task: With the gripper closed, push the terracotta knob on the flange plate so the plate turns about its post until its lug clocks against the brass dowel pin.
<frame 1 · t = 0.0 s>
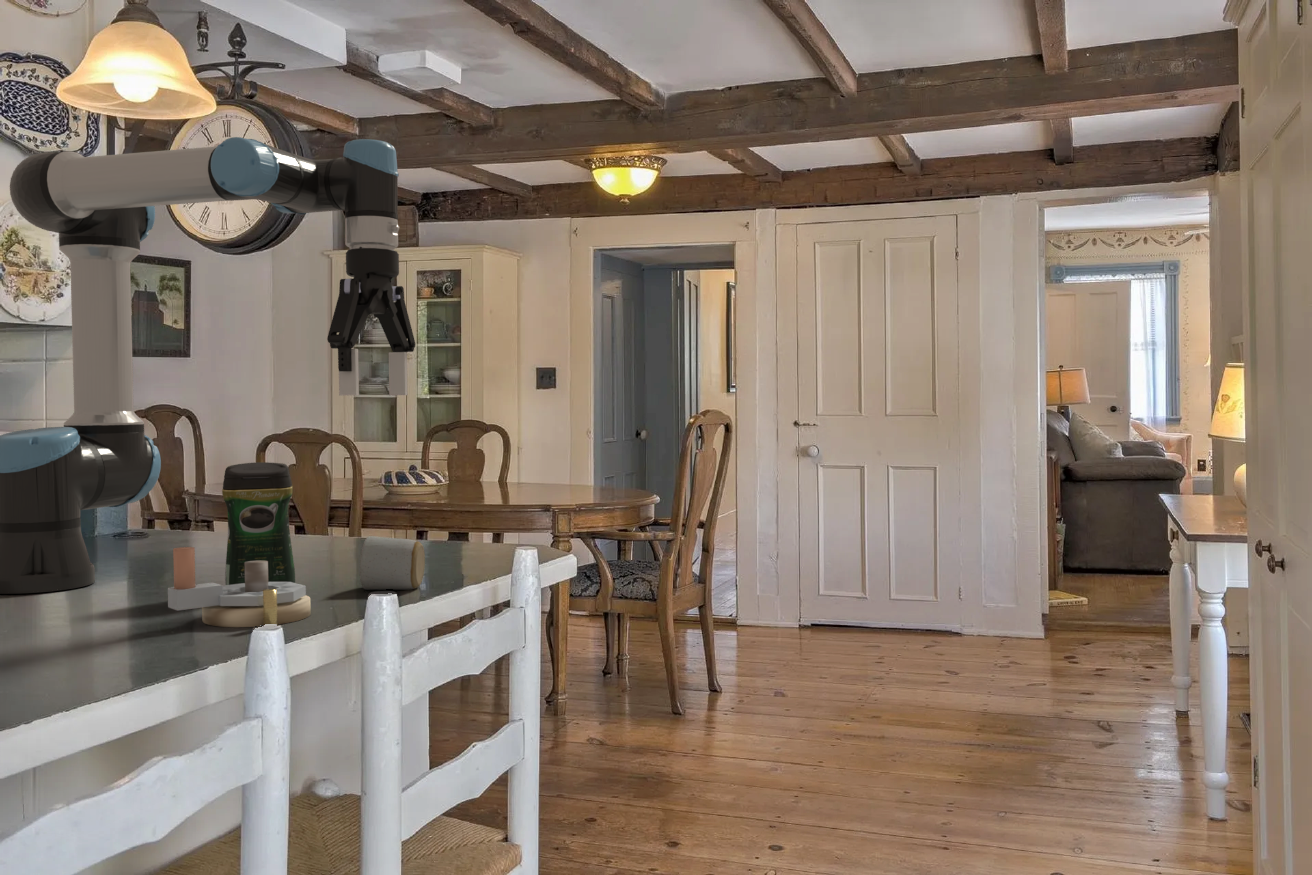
hand: (374, 395, 170), 28 cm above the counter, fingers open, 13 cm apart
pedestal: (257, 616, 147), on the counter
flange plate: (237, 571, 145), point 6 cm above the counter, hinge at 0.0°
ceramic mug: (393, 589, 170), on the counter
coffee jar: (260, 592, 167), on the counter
dowel pin: (270, 626, 141), on the counter
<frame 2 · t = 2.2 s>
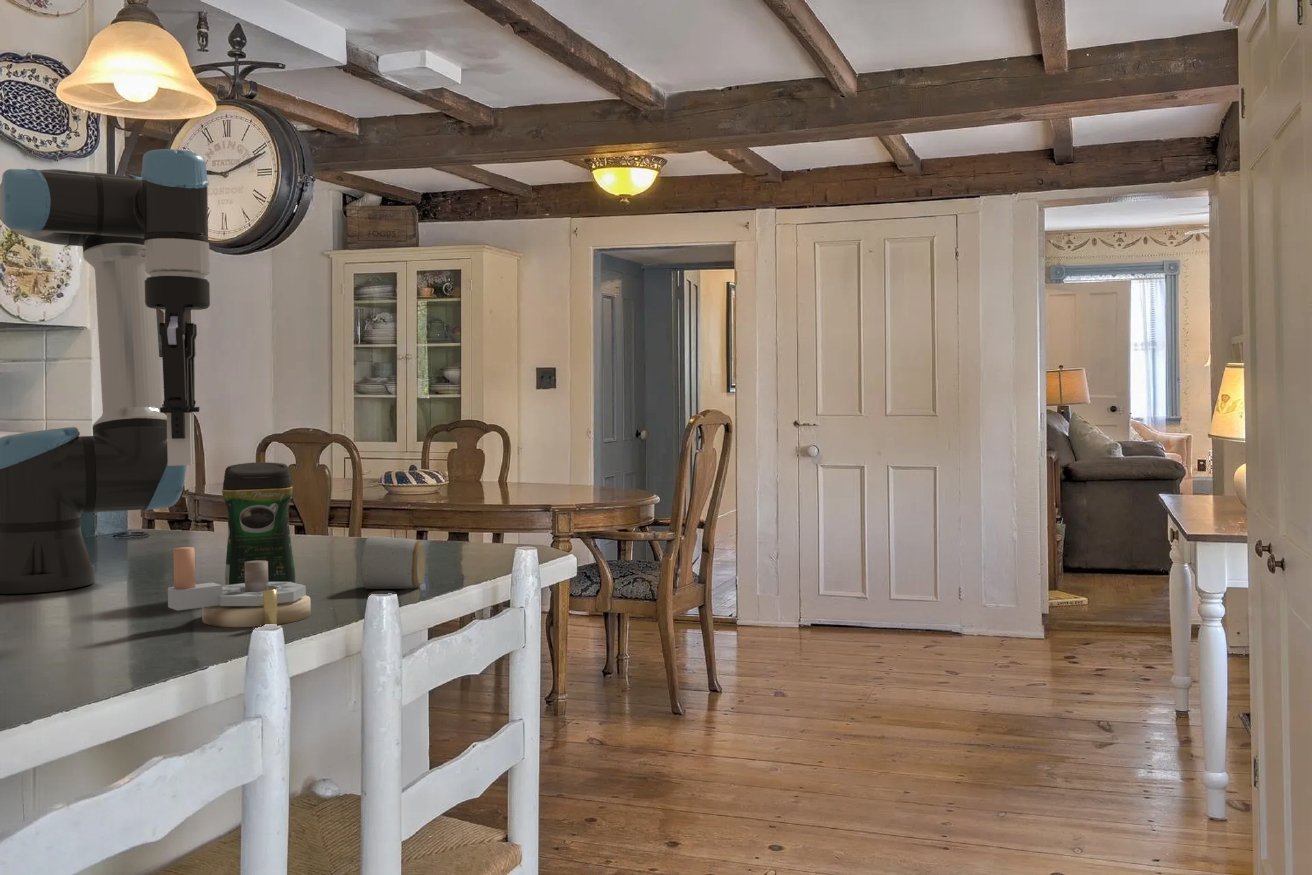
hand: (181, 464, 146), 19 cm above the counter, fingers open, 2 cm apart
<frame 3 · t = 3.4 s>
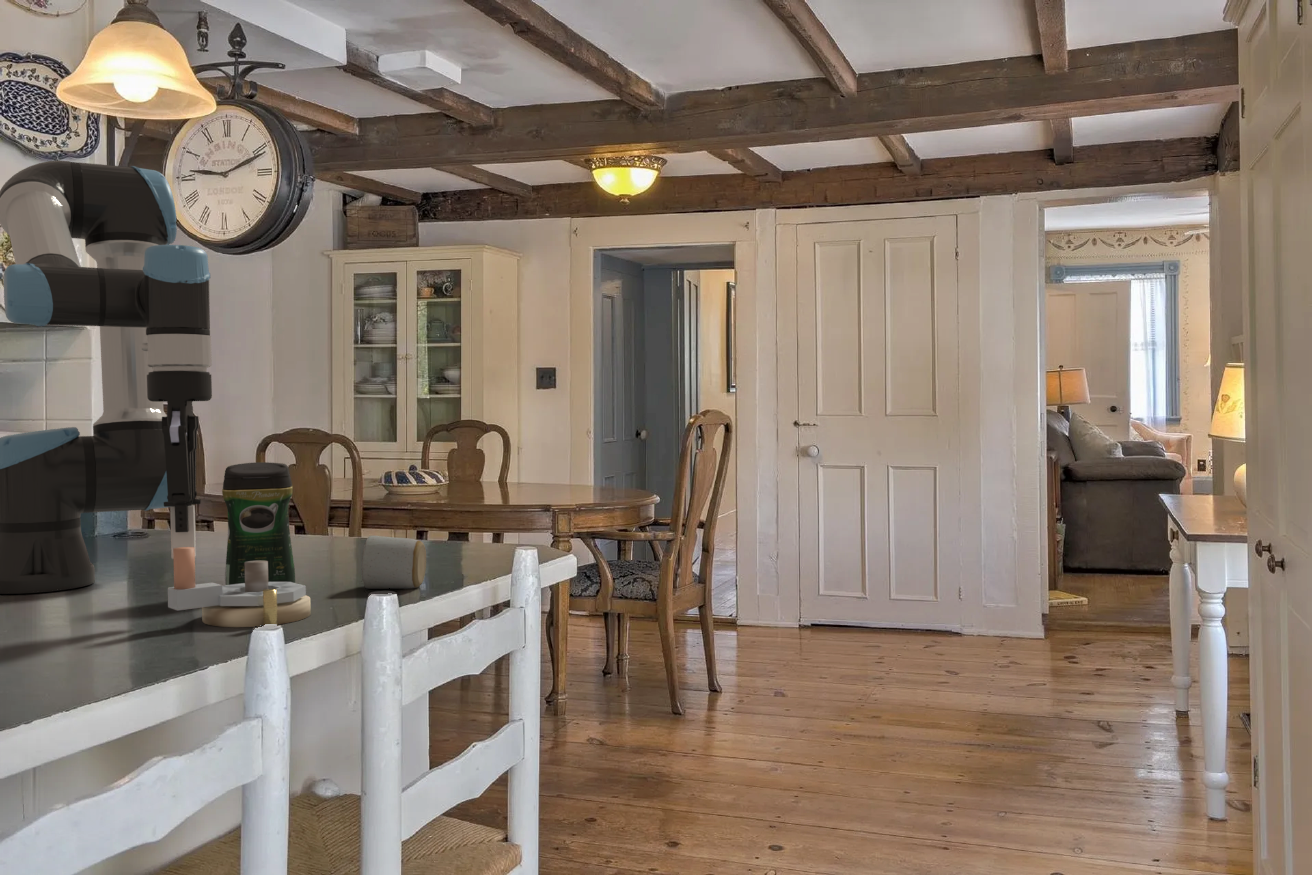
hand: (183, 557, 146), 8 cm above the counter, fingers closed
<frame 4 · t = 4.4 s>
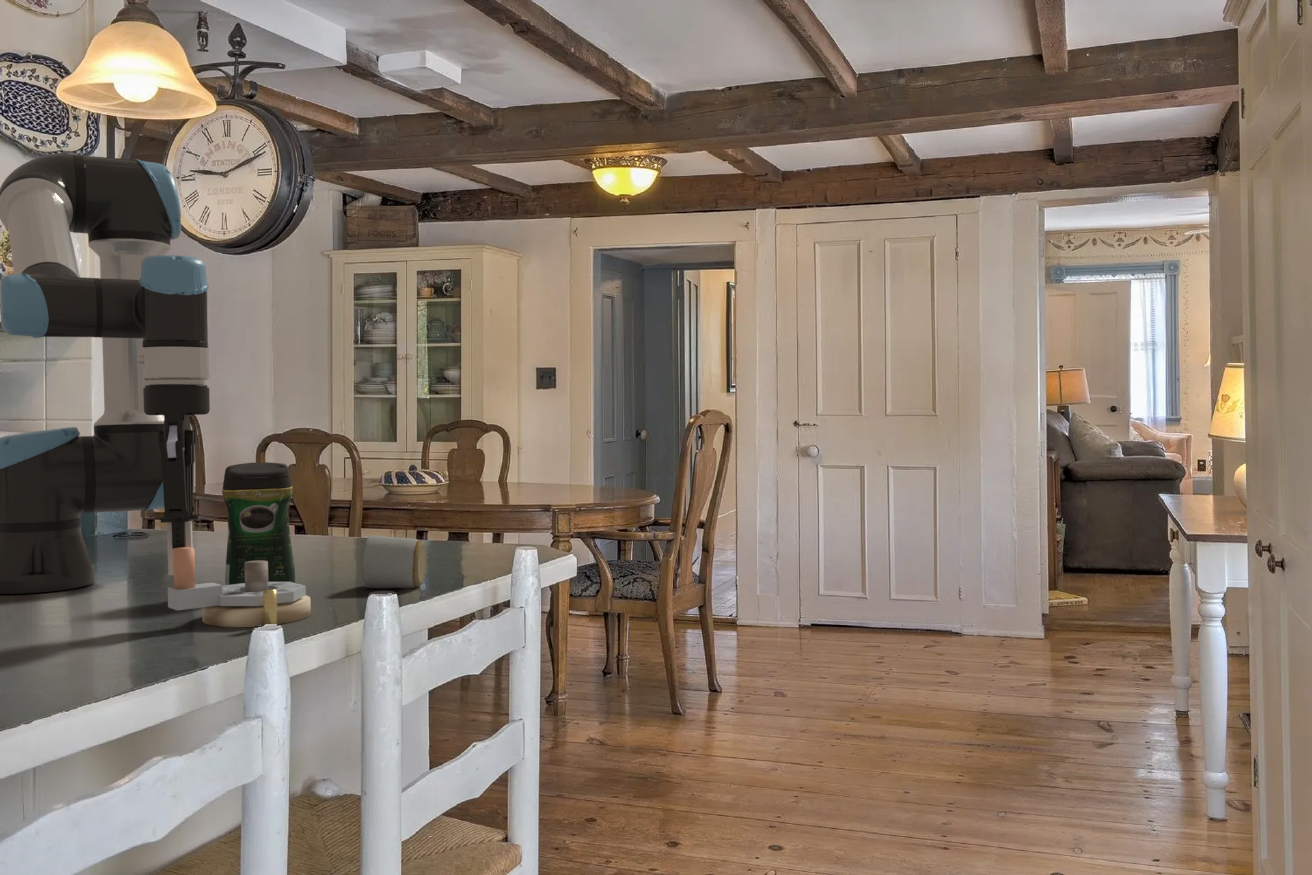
hand: (180, 573, 143), 6 cm above the counter, fingers closed
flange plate: (237, 571, 145), point 6 cm above the counter, hinge at 0.0°, touching gripper
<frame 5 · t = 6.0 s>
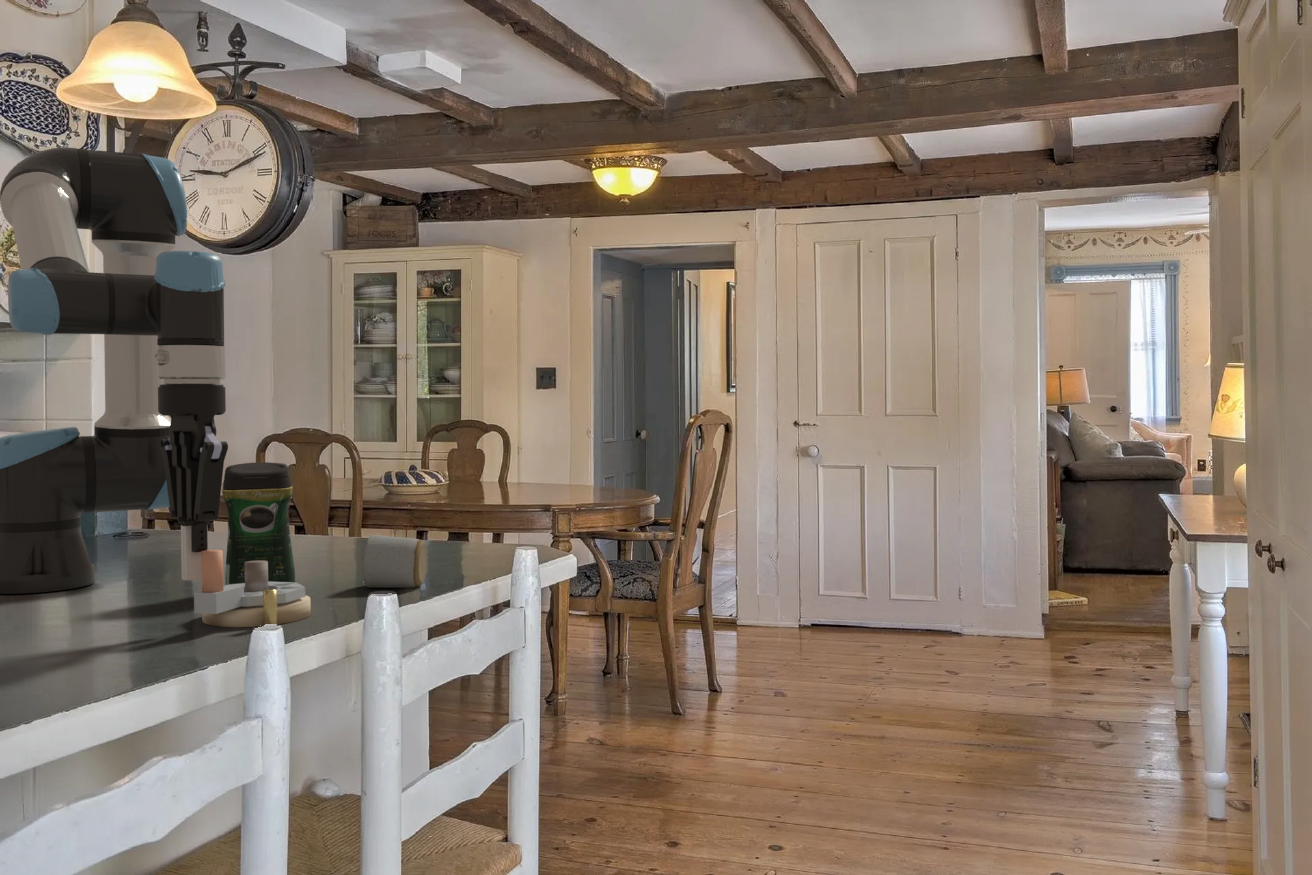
hand: (195, 578, 139), 6 cm above the counter, fingers closed
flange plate: (244, 572, 144), point 6 cm above the counter, hinge at 33.2°, touching gripper
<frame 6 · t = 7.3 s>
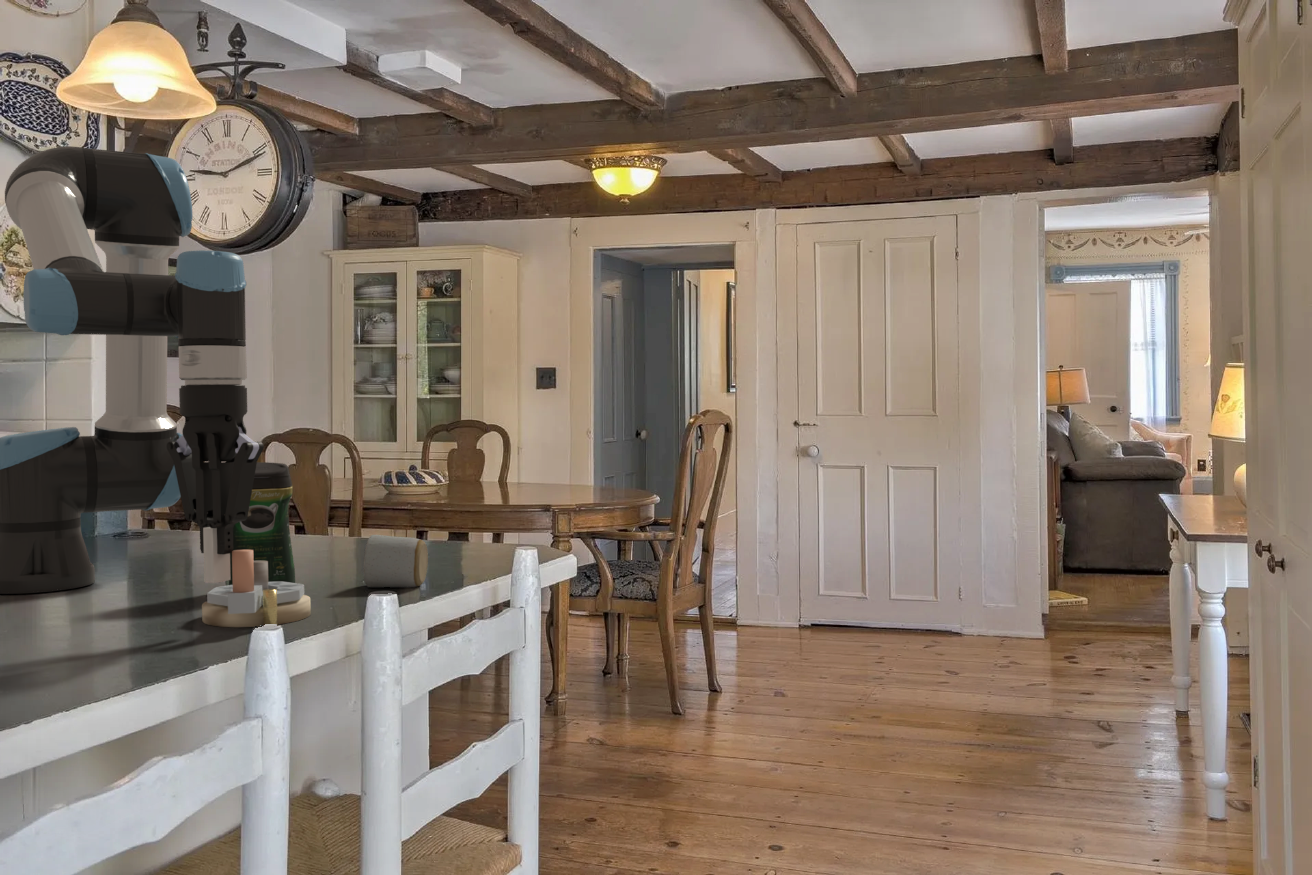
hand: (217, 580, 138), 6 cm above the counter, fingers closed
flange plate: (252, 572, 144), point 6 cm above the counter, hinge at 56.9°
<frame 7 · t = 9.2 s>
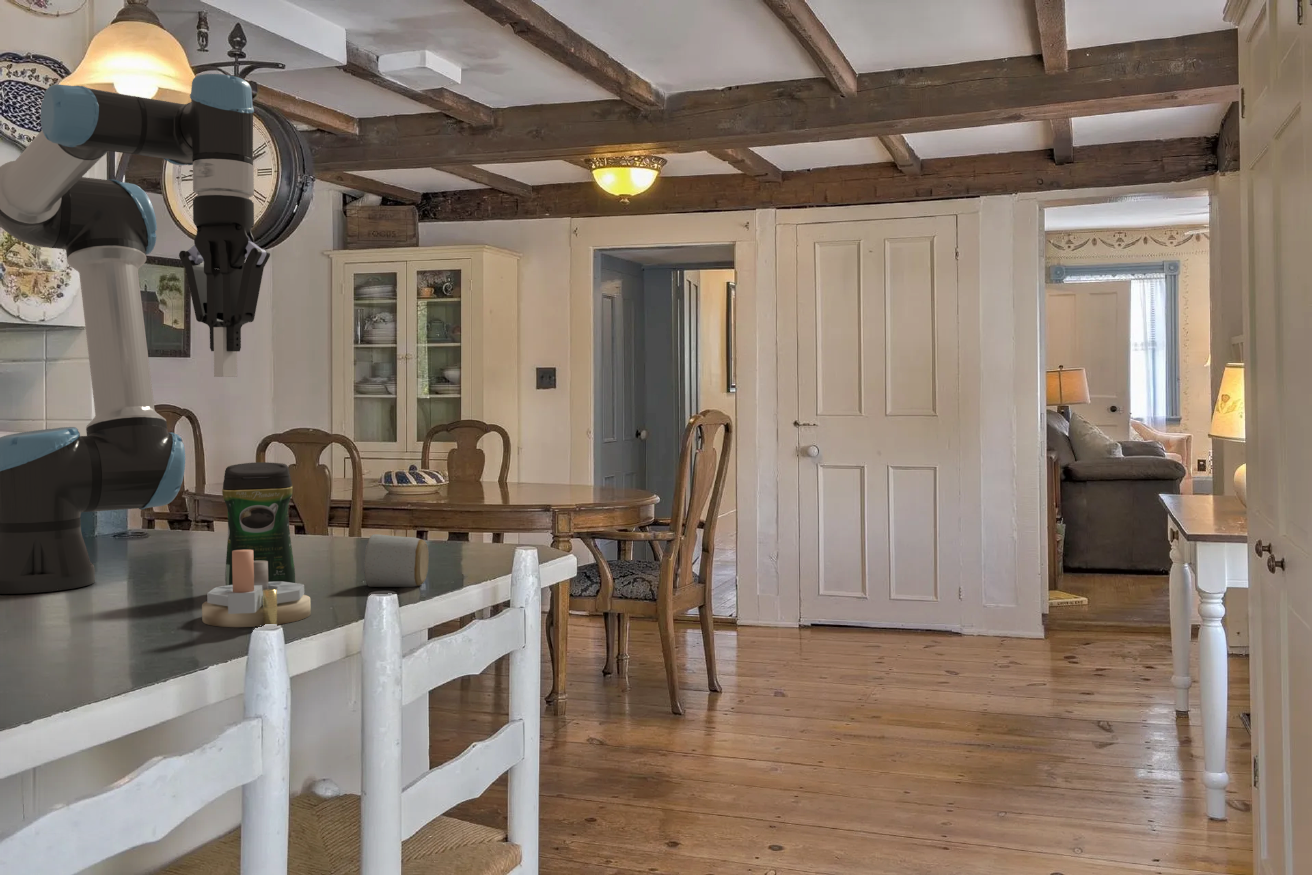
hand: (225, 376, 154), 31 cm above the counter, fingers closed
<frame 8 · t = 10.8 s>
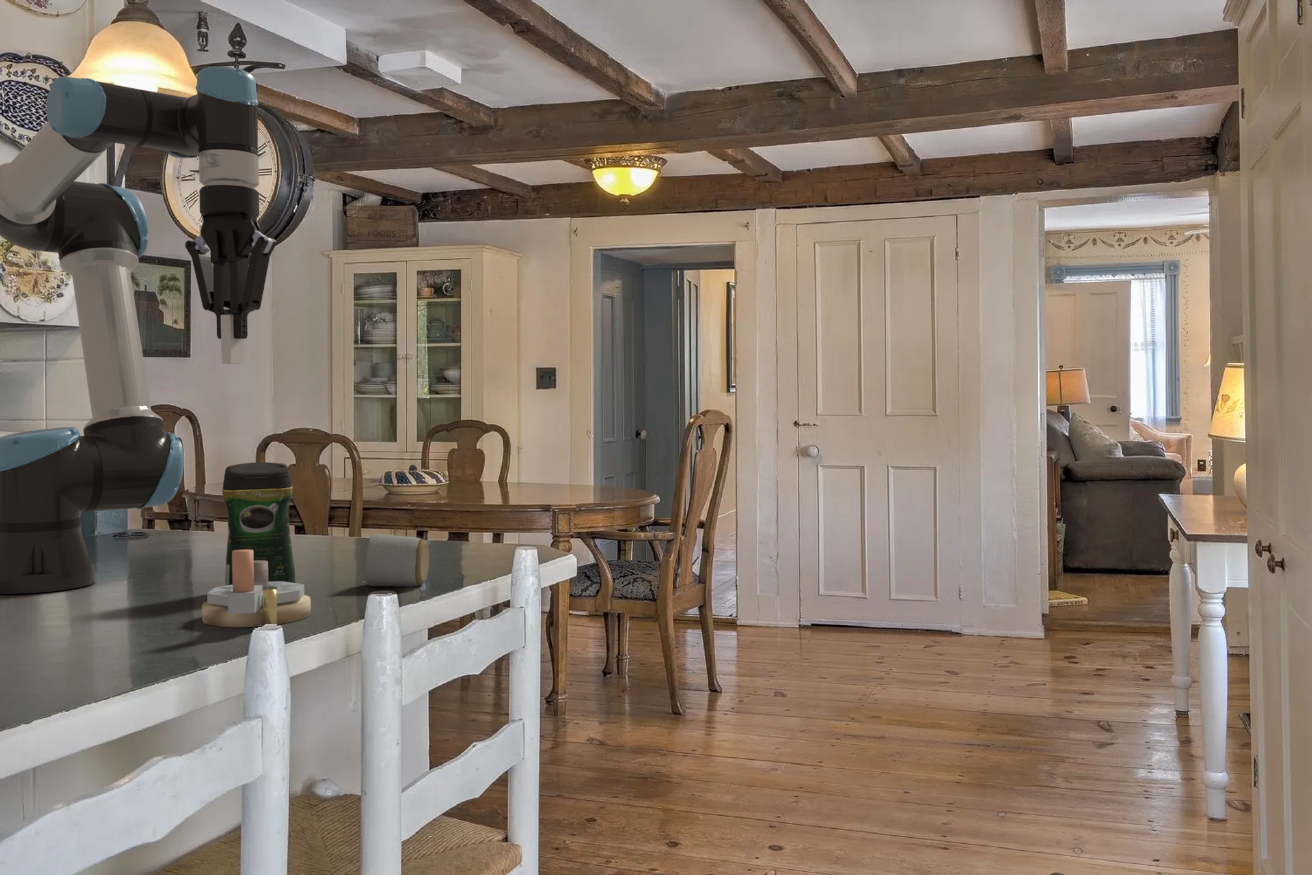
hand: (232, 363, 156), 32 cm above the counter, fingers closed
at the end: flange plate at +57° (first picture: +0°); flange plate touching nothing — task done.
